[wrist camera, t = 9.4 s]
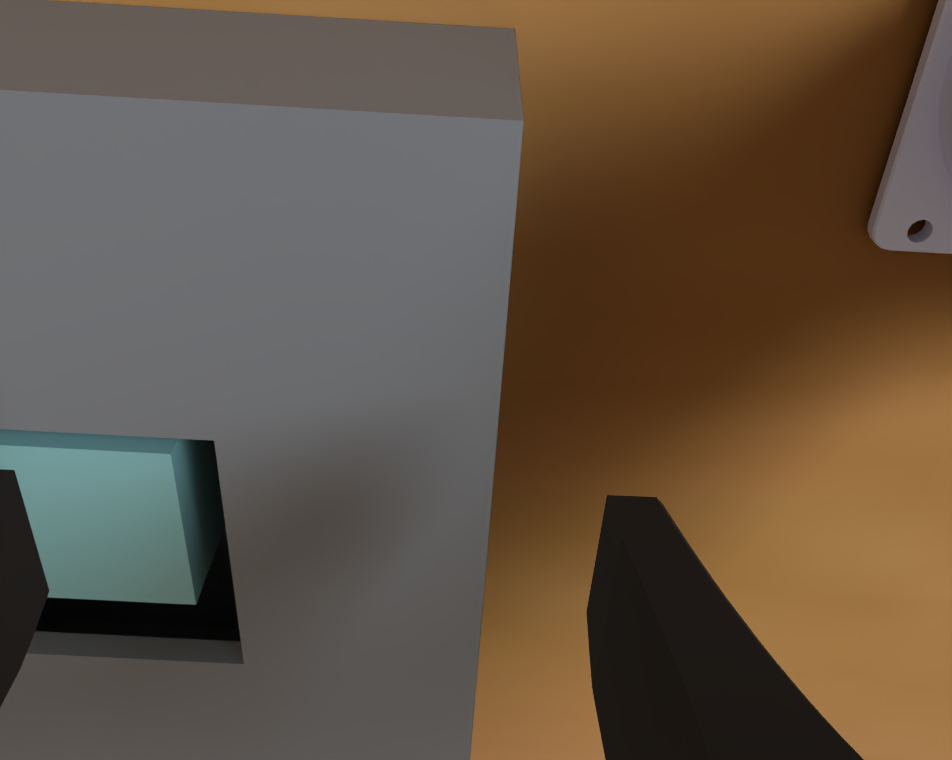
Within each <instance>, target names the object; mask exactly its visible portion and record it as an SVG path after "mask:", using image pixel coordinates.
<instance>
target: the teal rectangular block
mask: <svg viewBox="0 0 952 760" xmlns="http://www.w3.org/2000/svg"><path fill="white" fill-rule="evenodd" d="M0 469H3V470H15V474H16V477H17V481H18V484H19V488H20V491H21V494H22V498H23V501H24V505H25V508H26V512H27V515H28V519H29V522H30V525H31V529H32V532H33V536H34V539H35V543H36V546H37V550H38V553H39V557H40V560H41V563H42V567H43V570H44V574H45V577H46V581H47V584H48V588H49V593H48V596H47V597H50V598H70V599H90V600H110V601H129V602H149V603H169V604H189V605H196V604H197V601H198V598H199V595H200V593H201V590H202V587H203V585H204V582H205V579H206V577H207V574H208V571H209V568H210V566H211V563H212V560H213V558H214V555H215V552H216V549H217V547H218V544H219V541H220V539H221V536H222V533H223V530H224V528H225V519H224V511H223V503H222V496H221V488H220V481H219V473H218V466H217V458H216V451H215V443H214V441H212V440H193V439H175V438H156V437H137V436H119V435H100V434H81V433H62V432H44V431H25V430H6V429H0Z"/></svg>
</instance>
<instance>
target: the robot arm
mask: <svg viewBox="0 0 952 760" xmlns="http://www.w3.org/2000/svg"><path fill="white" fill-rule="evenodd" d="M919 220H925V225H924V227H923V228H922V230H921V231H919V232H918V233H916V234H913V235H907V233H908V229H909V228H910V226H911V225H912V224H913V223H915V222H916V221H919ZM867 231H868V233H869V236H870V238H871V239H872V240H873V241H874V243H875V244H876V245H878V246H879V247H880V248H882V249H886V250H892V251H910V252H927V253H945V254H952V0H938V4H937V7H936V10H935V13H934V16H933V19H932V22H931V26H930V29H929V32H928V35H927V38H926V41H925V45H924V48H923V51H922V54H921V57H920V60H919V64H918V67H917V70H916V73H915V76H914V79H913V82H912V86H911V89H910V92H909V95H908V98H907V101H906V105H905V108H904V111H903V114H902V117H901V120H900V124H899V127H898V130H897V133H896V136H895V139H894V142H893V146H892V149H891V152H890V155H889V158H888V161H887V165H886V168H885V171H884V174H883V177H882V180H881V184H880V187H879V190H878V193H877V196H876V199H875V202H874V206H873V209H872V212H871V215H870V218H869V221H868V230H867ZM48 593H49V588H48V584H47V581H46V577H45V574H44V570H43V567H42V563H41V560H40V557H39V553H38V550H37V546H36V543H35V539H34V536H33V532H32V529H31V525H30V522H29V519H28V515H27V512H26V508H25V505H24V501H23V498H22V494H21V491H20V488H19V484H18V481H17V477H16V474H15V470H3V469H0V707H1V705H2V703H3V701H4V699H5V698H6V696H7V694H8V692H9V690H10V688H11V686H12V684H13V682H14V680H15V678H16V676H17V674H18V672H19V670H20V668H21V666H22V664H23V661H24V659H25V656H26V653H27V651H28V648H29V646H30V643H31V641H32V638H33V636H34V633H35V630H36V627H37V625H38V622H39V619H40V616H41V613H42V610H43V608H44V605H45V602H46V599H47V596H48ZM587 623H588V638H589V653H590V665H591V677H592V689H593V694H594V700H595V706H596V711H597V716H598V722H599V727H600V732H601V738H602V743H603V748H604V753H605V759H606V760H863V759H862V757H861V756H860V755H859V754H858V753H857V752H856V751H855V750H854V749H853V748H852V747H851V746H850V745H849V744H848V743H847V742H846V741H845V740H844V739H843V738H842V737H841V736H840V735H839V734H838V732H837V731H836V730H835V729H834V728H833V727H832V726H831V725H830V724H829V723H828V722H827V721H826V719H825V718H824V717H823V716H822V715H821V714H820V713H819V712H818V710H817V709H816V708H815V707H814V706H813V705H812V704H811V703H810V701H809V700H808V699H807V698H806V697H805V696H804V695H803V693H802V692H801V691H800V690H799V689H798V687H797V686H796V685H795V684H794V683H793V682H792V680H791V679H790V678H789V677H788V676H787V674H786V673H785V672H784V671H783V670H782V669H781V667H780V666H779V665H778V664H777V663H776V661H775V660H774V659H773V658H772V656H771V655H770V654H769V653H768V651H767V650H766V649H765V648H764V646H763V645H762V644H761V643H760V641H759V640H758V639H757V637H756V636H755V635H754V634H753V632H752V631H751V630H750V628H749V627H748V626H747V624H746V623H745V622H744V620H743V619H742V618H741V616H740V615H739V614H738V612H737V611H736V610H735V609H734V607H733V606H732V605H731V603H730V602H729V601H728V599H727V598H726V597H725V595H724V594H723V592H722V591H721V590H720V588H719V587H718V585H717V584H716V583H715V581H714V580H713V579H712V577H711V576H710V574H709V573H708V571H707V570H706V568H705V567H704V566H703V564H702V563H701V561H700V560H699V558H698V557H697V555H696V554H695V553H694V551H693V550H692V548H691V547H690V545H689V544H688V542H687V541H686V539H685V538H684V536H683V535H682V533H681V532H680V530H679V529H678V527H677V525H676V524H675V522H674V521H673V519H672V518H671V516H670V515H669V513H668V512H667V510H666V508H665V507H664V505H663V504H662V503H661V502H660V501H659V500H658V499H657V498H656V497H636V496H613V495H607V499H606V504H605V510H604V516H603V522H602V527H601V533H600V539H599V544H598V550H597V556H596V561H595V567H594V573H593V579H592V584H591V590H590V596H589V601H588V607H587Z"/></svg>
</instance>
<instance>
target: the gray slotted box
mask: <svg viewBox="0 0 952 760" xmlns="http://www.w3.org/2000/svg"><path fill="white" fill-rule="evenodd" d="M523 122H524V120H523V109H522V98H521V87H520V76H519V66H518V55H517V44H516V33H515V29H508V28H491V27H475V26H459V25H442V24H426V23H409V22H393V21H377V20H360V19H344V18H328V17H311V16H295V15H278V14H262V13H246V12H229V11H213V10H197V9H180V8H164V7H147V6H131V5H115V4H98V3H82V2H66V1H49V0H0V429H6V430H25V431H44V432H62V433H81V434H100V435H119V436H137V437H156V438H175V439H193V440H212V441H214V443H215V451H216V458H217V466H218V473H219V481H220V488H221V496H222V503H223V511H224V519H225V528H224V530H223V533H222V536H221V539H220V541H219V544H218V547H217V549H216V552H215V555H214V558H213V560H212V563H211V566H210V568H209V571H208V574H207V577H206V579H205V582H204V585H203V587H202V590H201V593H200V595H199V598H198V601H197V604H196V605H189V604H169V603H149V602H129V601H110V600H90V599H70V598H50V597H47V599H46V602H45V605H44V608H43V610H42V613H41V616H40V619H39V622H38V625H37V627H36V630H35V633H34V636H33V638H32V641H31V643H30V646H29V648H28V651H27V653H26V656H25V659H24V661H23V664H22V666H21V668H20V670H19V672H18V674H17V676H16V678H15V680H14V682H13V684H12V686H11V688H10V690H9V692H8V694H7V696H6V698H5V699H4V701H3V703H2V705H1V707H0V760H470V752H471V740H472V729H473V717H474V705H475V693H476V681H477V669H478V657H479V645H480V633H481V622H482V610H483V598H484V586H485V574H486V562H487V550H488V538H489V526H490V515H491V503H492V491H493V479H494V467H495V455H496V443H497V431H498V419H499V408H500V396H501V384H502V372H503V360H504V348H505V336H506V324H507V312H508V301H509V289H510V277H511V265H512V253H513V241H514V229H515V217H516V205H517V194H518V182H519V170H520V158H521V146H522V134H523Z"/></svg>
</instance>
